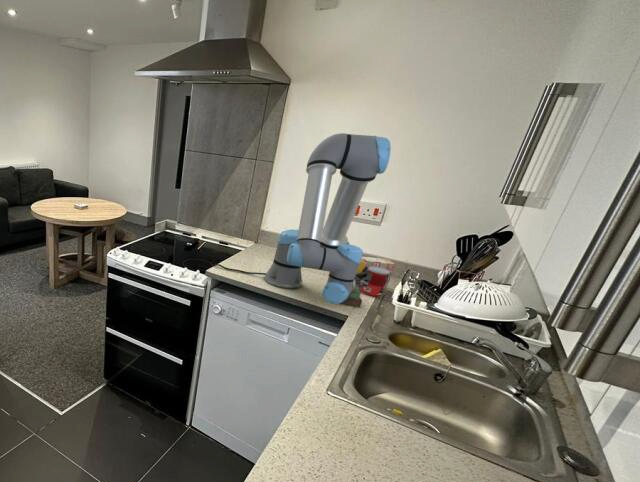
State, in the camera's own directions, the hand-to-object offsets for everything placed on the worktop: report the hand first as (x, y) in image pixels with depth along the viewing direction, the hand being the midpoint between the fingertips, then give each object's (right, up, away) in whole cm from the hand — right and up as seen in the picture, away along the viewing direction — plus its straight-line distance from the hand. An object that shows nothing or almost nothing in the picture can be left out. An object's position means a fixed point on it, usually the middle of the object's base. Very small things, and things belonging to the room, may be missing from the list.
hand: (357, 267), depth 158 cm
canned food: (+12, -11, +12) cm, 20 cm away
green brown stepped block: (-4, -13, +1) cm, 14 cm away
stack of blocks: (+13, -7, +21) cm, 25 cm away
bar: (-4, -6, -2) cm, 8 cm away
